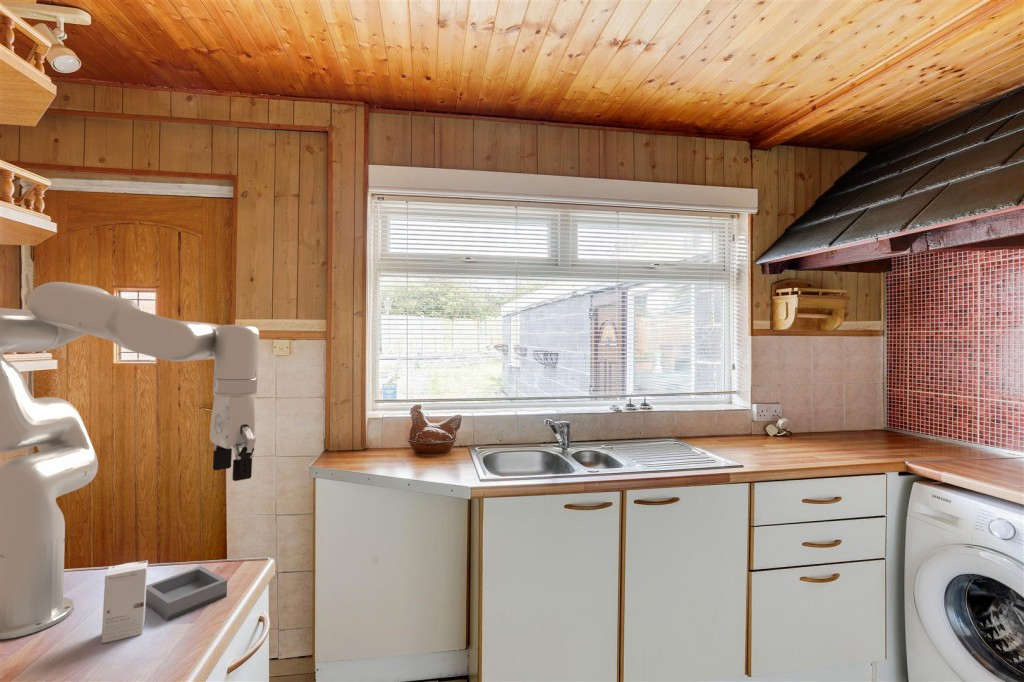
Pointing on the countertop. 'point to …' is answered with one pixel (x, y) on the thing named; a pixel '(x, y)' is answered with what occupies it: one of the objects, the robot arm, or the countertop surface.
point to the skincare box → (124, 601)
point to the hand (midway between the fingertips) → (231, 474)
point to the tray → (185, 592)
